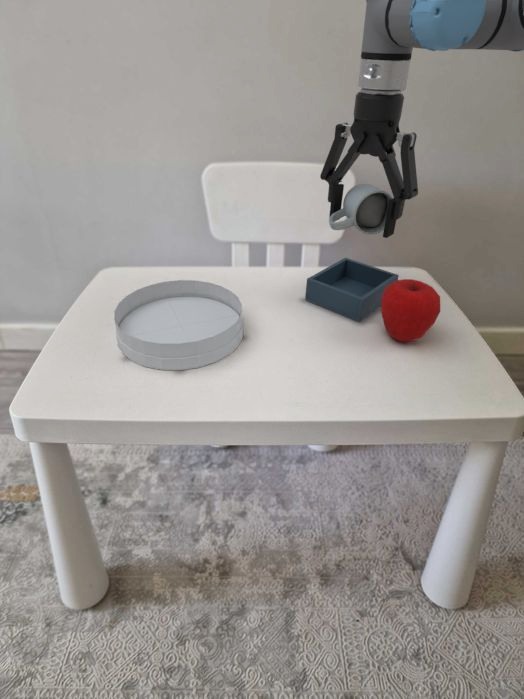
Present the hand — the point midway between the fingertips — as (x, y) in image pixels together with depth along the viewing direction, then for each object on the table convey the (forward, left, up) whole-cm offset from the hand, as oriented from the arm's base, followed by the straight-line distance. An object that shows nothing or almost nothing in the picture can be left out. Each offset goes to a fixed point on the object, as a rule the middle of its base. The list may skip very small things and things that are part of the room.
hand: (360, 227), depth 84 cm
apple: (-14, +6, -15) cm, 22 cm away
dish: (+16, +32, -15) cm, 38 cm away
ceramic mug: (0, 0, 0) cm, 1 cm away
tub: (0, 0, -15) cm, 15 cm away
